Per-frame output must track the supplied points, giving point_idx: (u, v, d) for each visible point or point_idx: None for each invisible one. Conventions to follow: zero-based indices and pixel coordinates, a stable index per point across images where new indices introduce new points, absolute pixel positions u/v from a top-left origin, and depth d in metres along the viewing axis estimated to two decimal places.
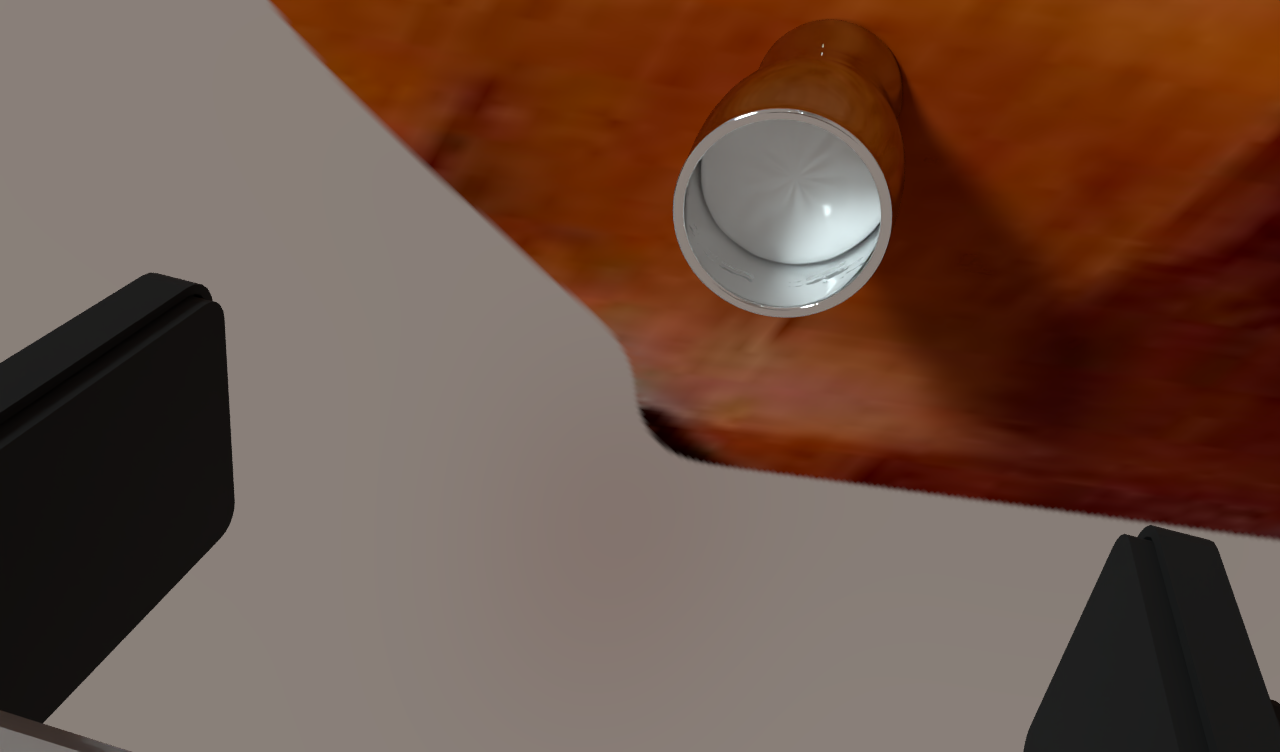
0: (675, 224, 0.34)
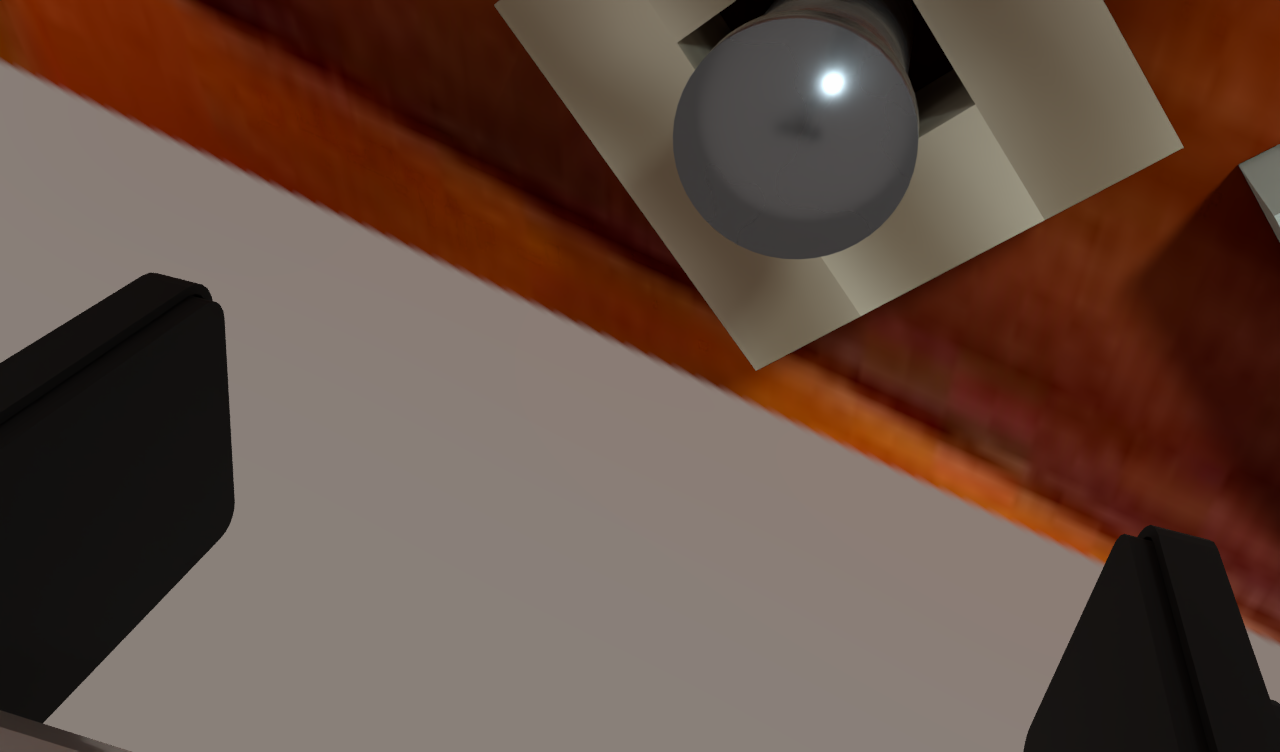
0: None
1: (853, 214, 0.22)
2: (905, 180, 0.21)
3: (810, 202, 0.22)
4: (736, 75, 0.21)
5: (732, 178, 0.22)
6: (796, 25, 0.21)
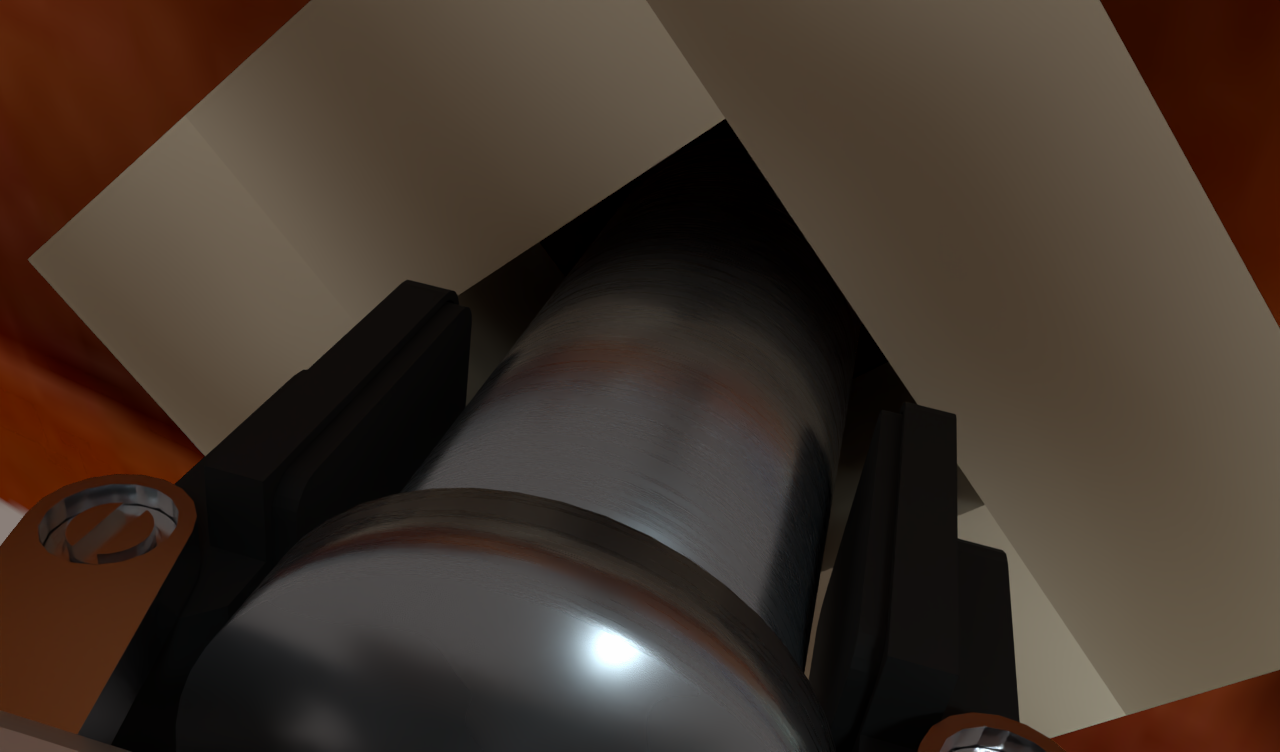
0: None
1: None
2: None
3: None
4: (307, 686, 0.07)
5: None
6: (450, 589, 0.07)
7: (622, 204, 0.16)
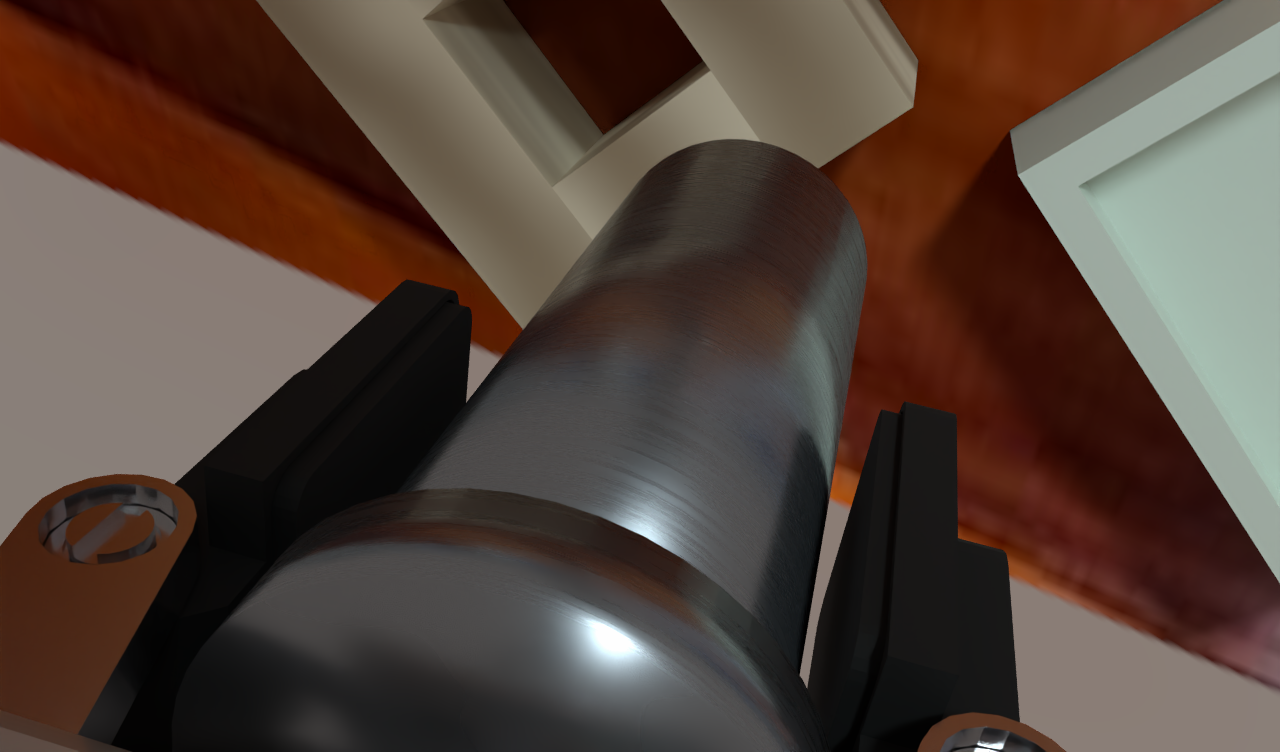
0: None
1: None
2: None
3: None
4: (302, 685, 0.07)
5: None
6: (444, 590, 0.07)
7: (620, 205, 0.16)
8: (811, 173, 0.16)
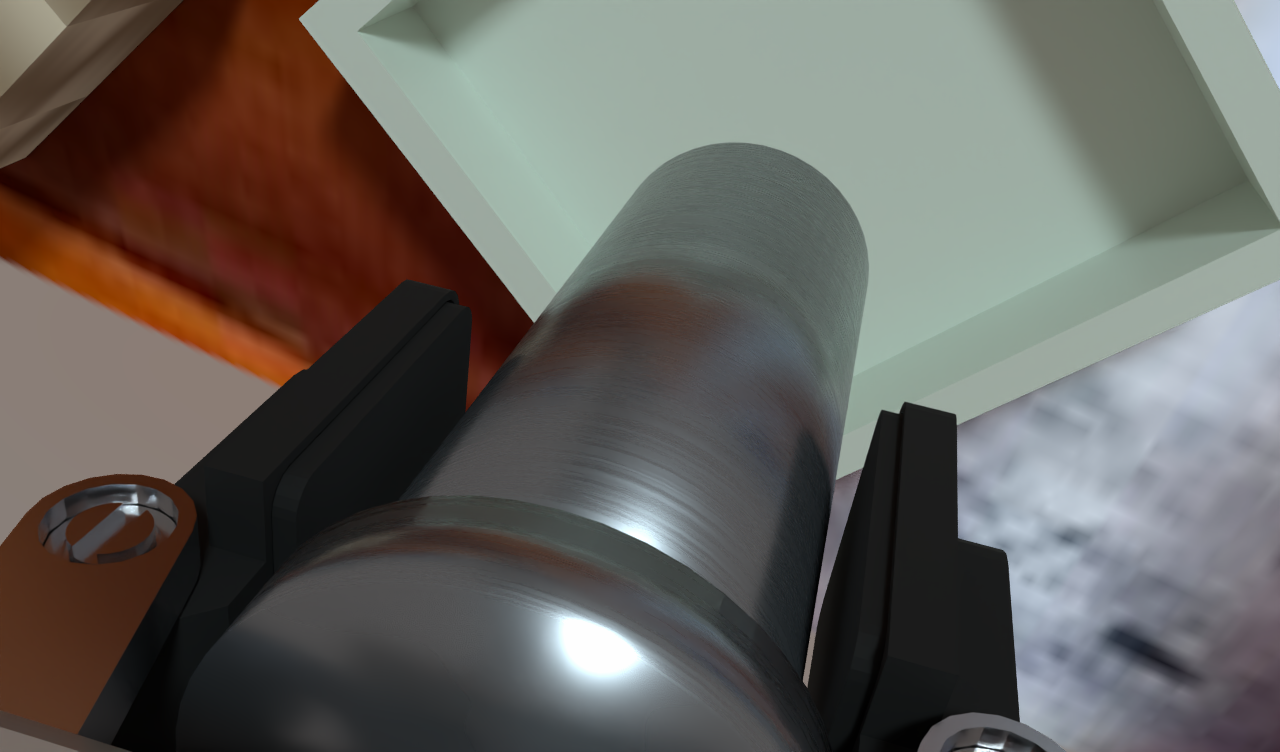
0: None
1: None
2: None
3: None
4: (307, 693, 0.07)
5: None
6: (449, 597, 0.07)
7: (622, 208, 0.16)
8: (813, 176, 0.16)
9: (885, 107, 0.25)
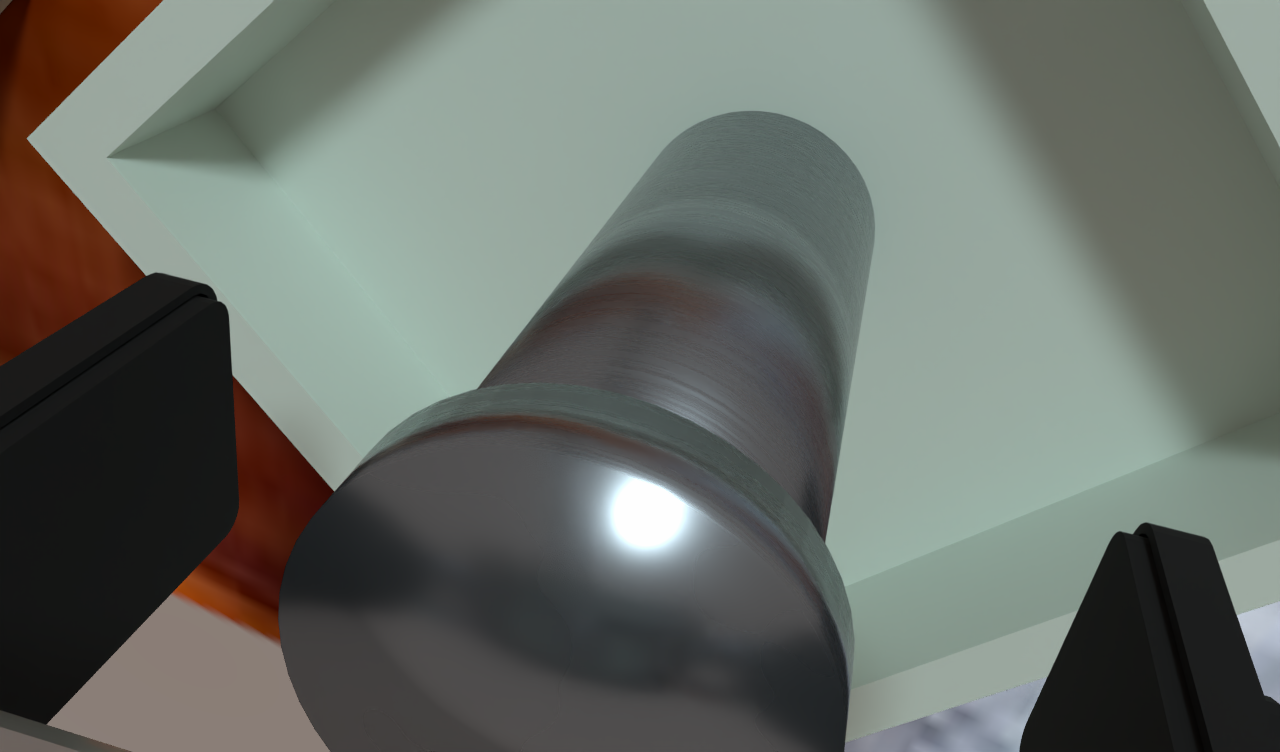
0: None
1: None
2: None
3: None
4: (399, 549, 0.09)
5: (424, 740, 0.10)
6: (527, 458, 0.08)
7: (646, 171, 0.17)
8: (823, 141, 0.17)
9: None
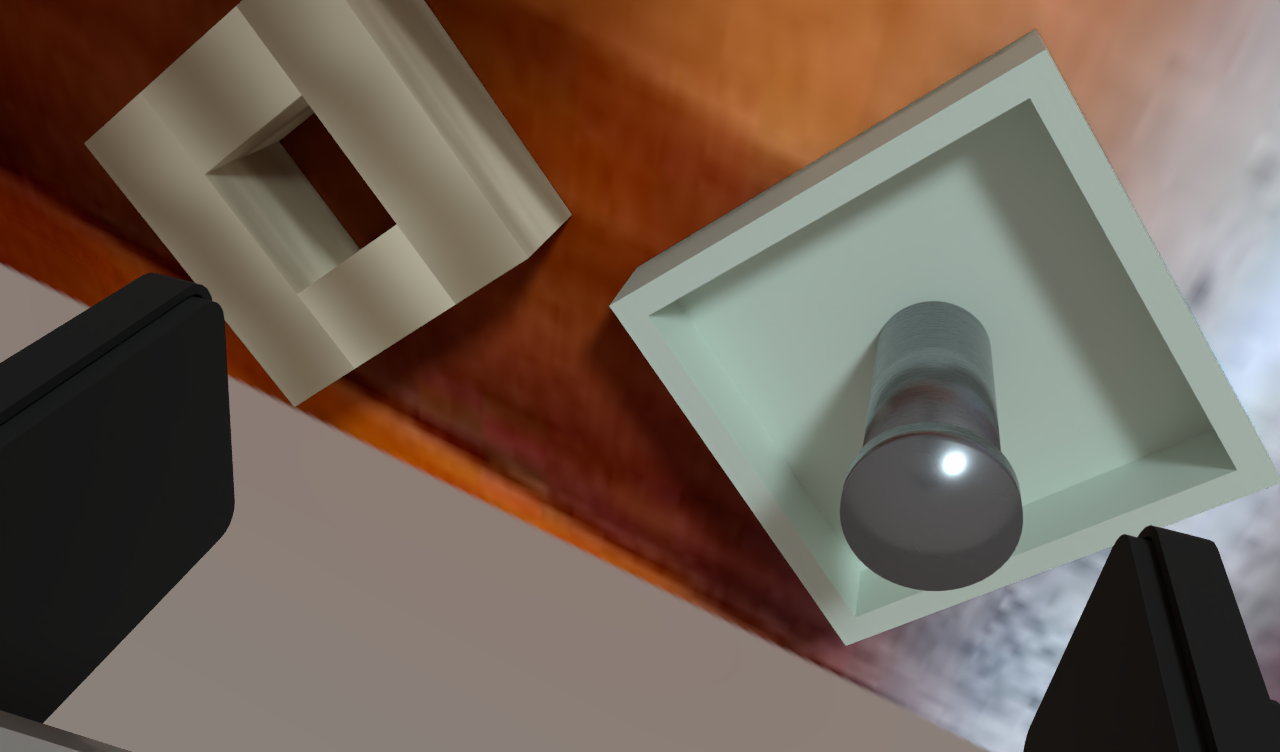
0: None
1: (971, 565, 0.30)
2: (1012, 546, 0.30)
3: (940, 554, 0.30)
4: (891, 470, 0.29)
5: (882, 534, 0.30)
6: (938, 442, 0.29)
7: (892, 328, 0.38)
8: (971, 317, 0.38)
9: None
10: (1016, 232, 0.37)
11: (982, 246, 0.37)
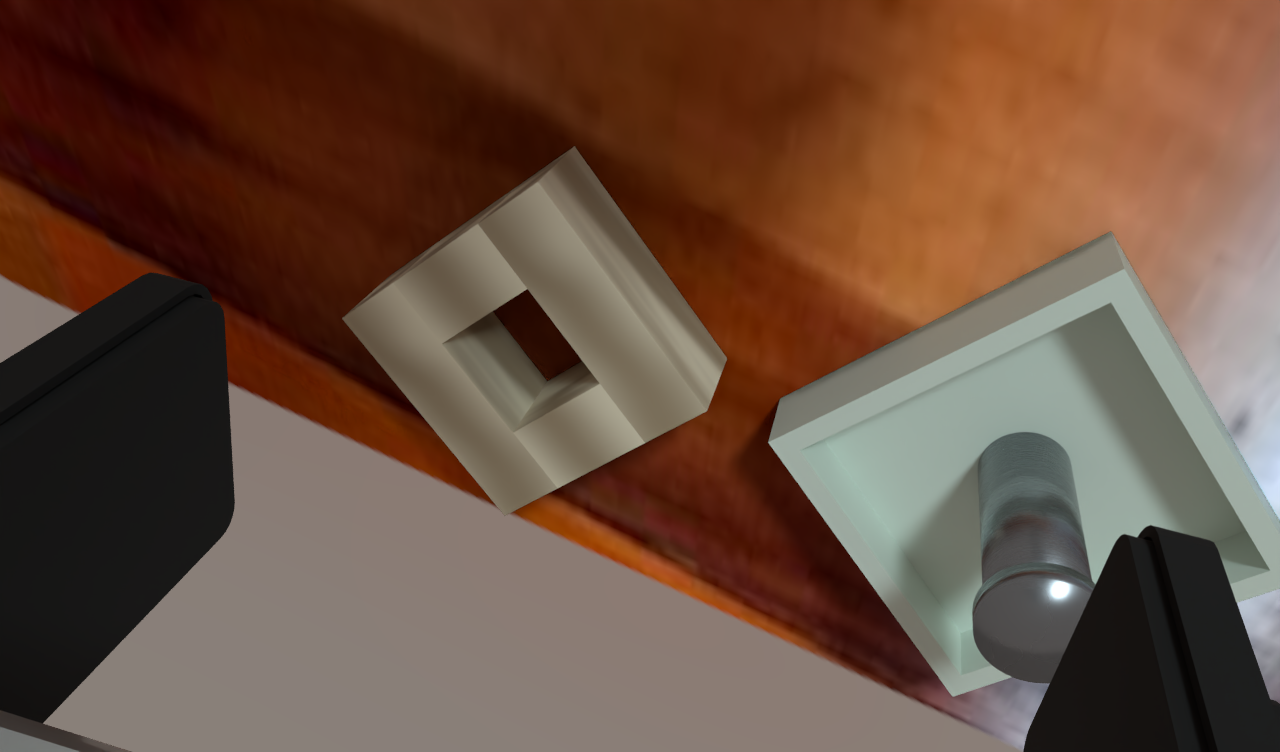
0: None
1: None
2: None
3: (1049, 658, 0.40)
4: (1014, 599, 0.40)
5: (1005, 643, 0.41)
6: (1050, 581, 0.39)
7: (993, 456, 0.48)
8: (1056, 445, 0.48)
9: None
10: (1094, 382, 0.47)
11: (1066, 392, 0.47)
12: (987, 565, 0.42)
